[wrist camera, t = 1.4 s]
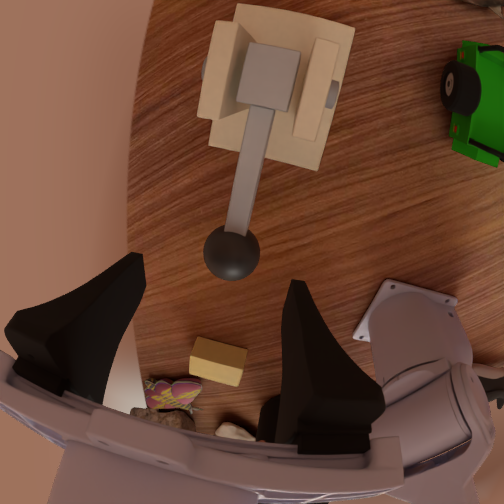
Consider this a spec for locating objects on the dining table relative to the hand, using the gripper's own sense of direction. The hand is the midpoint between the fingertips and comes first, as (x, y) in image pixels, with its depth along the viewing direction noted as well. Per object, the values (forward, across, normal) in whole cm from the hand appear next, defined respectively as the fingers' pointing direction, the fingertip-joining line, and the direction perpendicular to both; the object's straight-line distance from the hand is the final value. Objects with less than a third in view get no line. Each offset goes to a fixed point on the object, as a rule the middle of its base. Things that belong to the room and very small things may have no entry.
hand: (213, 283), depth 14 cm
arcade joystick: (+4, -1, -4) cm, 6 cm away
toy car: (+10, -20, -13) cm, 25 cm away
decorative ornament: (+9, +11, +30) cm, 34 cm away
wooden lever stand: (+11, -2, -9) cm, 14 cm away
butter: (+10, 0, +20) cm, 22 cm away
